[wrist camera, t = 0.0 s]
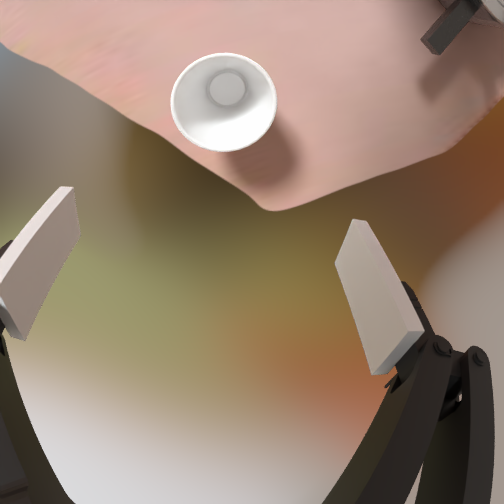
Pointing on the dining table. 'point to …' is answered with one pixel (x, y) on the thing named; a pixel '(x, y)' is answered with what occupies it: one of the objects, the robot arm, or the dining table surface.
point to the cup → (223, 102)
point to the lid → (494, 9)
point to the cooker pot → (455, 23)
